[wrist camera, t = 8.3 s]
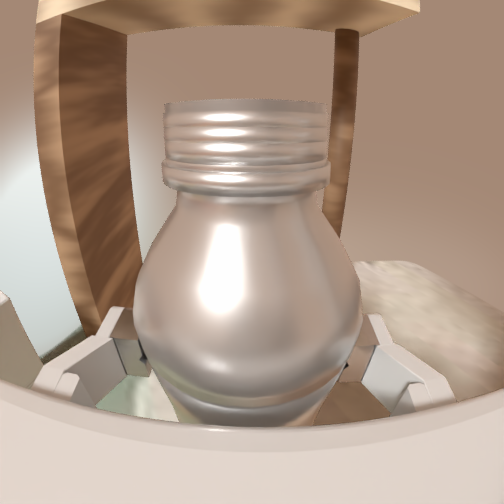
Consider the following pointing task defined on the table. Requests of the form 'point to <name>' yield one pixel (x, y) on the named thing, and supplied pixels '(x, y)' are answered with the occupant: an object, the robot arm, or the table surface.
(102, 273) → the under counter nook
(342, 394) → the table surface
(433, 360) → the table surface
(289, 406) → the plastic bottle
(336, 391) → the table surface
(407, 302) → the table surface
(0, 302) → the supplement box
